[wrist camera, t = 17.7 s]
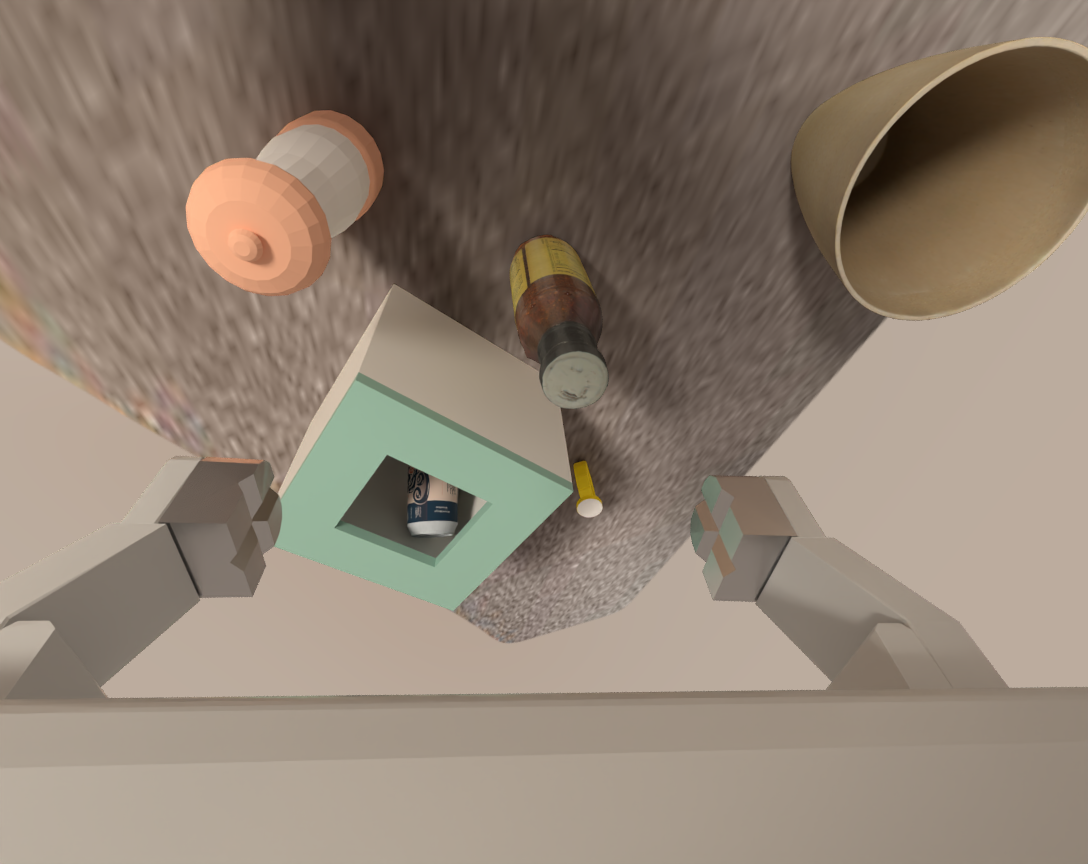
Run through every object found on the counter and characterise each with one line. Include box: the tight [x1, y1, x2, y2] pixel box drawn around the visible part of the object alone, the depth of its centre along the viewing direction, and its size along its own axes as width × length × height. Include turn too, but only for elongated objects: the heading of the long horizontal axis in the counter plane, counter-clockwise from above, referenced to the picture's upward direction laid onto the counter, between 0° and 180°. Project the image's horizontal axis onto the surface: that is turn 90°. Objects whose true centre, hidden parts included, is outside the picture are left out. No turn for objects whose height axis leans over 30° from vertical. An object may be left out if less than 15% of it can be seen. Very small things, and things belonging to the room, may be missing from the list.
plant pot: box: [791, 37, 1088, 320], centre depth 37 cm, size 15×15×16 cm
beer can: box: [407, 465, 458, 538], centre depth 53 cm, size 5×5×12 cm
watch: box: [573, 461, 603, 517], centre depth 61 cm, size 6×3×6 cm, turn 15°
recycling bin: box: [274, 284, 573, 611], centre depth 49 cm, size 18×18×16 cm
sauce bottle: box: [510, 235, 609, 409], centre depth 40 cm, size 7×6×20 cm
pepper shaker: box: [186, 110, 384, 296], centre depth 34 cm, size 7×7×19 cm
